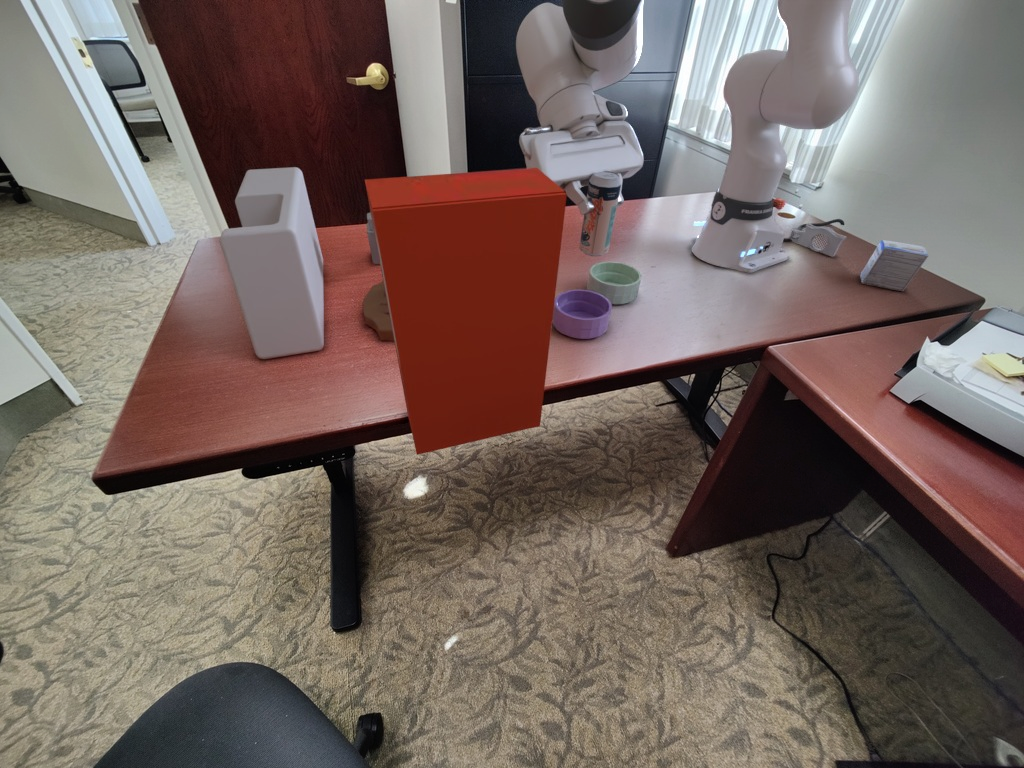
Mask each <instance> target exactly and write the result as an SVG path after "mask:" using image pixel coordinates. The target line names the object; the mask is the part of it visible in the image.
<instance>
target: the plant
mask: <svg viewBox="0 0 1024 768" xmlns="http://www.w3.org/2000/svg"><path fill="white" fill-rule="evenodd" d="M362 309H363V316H364V321H365V324H366V326H368V327H370V328H372V329H374V330H375V331H376V333H377V335H378V336H379V339H380V341H388V342H394V337H393V331H392V326H391V320H390V315H389V309H388V304H387V299H386V293H385V288H384V282H383V281H381V282H379V283H376V284H374V285H372V286H371V288H370V289H369V291H368V292H367V294H366V295H365V296H364V298H363V301H362Z"/></svg>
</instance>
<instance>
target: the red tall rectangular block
mask: <svg viewBox="0 0 1024 768" xmlns="http://www.w3.org/2000/svg"><path fill="white" fill-rule="evenodd" d="M364 183H365V187H366V195H367V199H368V207H369V211H371V217H372V222H373V228H374V233H375V239H376V244H377V250H378V255H379V260H380V264H379V265H380V271H381V276H382V282H384V288H385V293H386V299H387V304H388V309H389V315H390V320H391V326H392V331H393V337H394V341H393V342H394V347H395V352H396V353H395V354H396V358H397V363H398V369H399V375H400V381H401V385H402V391H403V396H404V401H405V407H406V413H407V417H408V421H409V426H410V430H411V436H412V441H413V445H414V449H415V454H416V456H418V455H423V454H428V453H431V452H436V451H439V450H443V449H448V448H452V447H456V446H461V445H465V444H470V443H473V442H479V441H482V440H486V439H491V438H496V437H499V436H503V435H508V434H512V433H517V432H520V431H525V430H531V429H534V428H538V427H541V421H542V411H543V403H544V394H545V386H546V376H547V370H548V360H549V352H550V344H551V343H550V342H551V336H552V335H551V334H552V327H553V326H552V325H553V321H552V318H553V309H554V301H555V298H556V292H557V282H558V274H559V266H560V265H559V264H560V257H561V256H560V255H561V249H562V239H563V230H564V222H565V213H566V205H567V204H566V203H567V198H568V196H567V194H566V191H565V190H563V189H562V188H560V187H559V186H558V185H557V184H556V183H554V182H553V181H552V180H551V179H550V178H548V177H547V176H546V175H545V174H544V173H543V172H541V171H540V170H539V169H538V168H527V167H526V168H513V169H499V170H486V171H471V172H457V173H442V174H441V173H440V174H427V175H413V176H412V175H411V176H399V177H397V176H396V177H382V178H369V179H368V178H367V179H364Z"/></svg>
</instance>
